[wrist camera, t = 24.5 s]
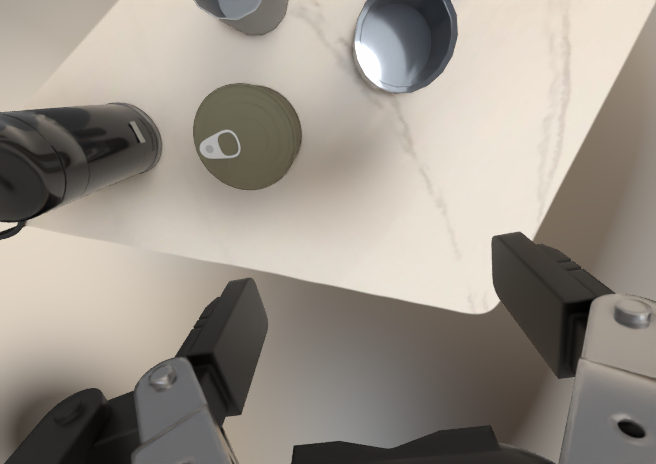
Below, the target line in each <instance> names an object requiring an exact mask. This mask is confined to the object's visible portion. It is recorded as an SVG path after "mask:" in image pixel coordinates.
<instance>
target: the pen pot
mask: <svg viewBox="0 0 656 464" xmlns="http://www.w3.org/2000/svg"><path fill="white" fill-rule="evenodd" d="M457 35H458V31H457V15H456V12H455V10H454V7H453V5H452V3H451V0H367V1H366V3H365V5H364V7H363V9H362V11H361V13H360V15H359V17H358V20H357V23H356V28H355V33H354V40H353V47H352V51H353V58H354V63H355V66H356V68H357V70H358V72H359V74H360V75H361V77H362V79H364V80H365V81H366V82H367V83H368V84H369V85H370V86H372V87H373V88H375V89H378V90H381V91H384V92H390V93H411V92H414V91H416V90H419V89H421V88H423V87H426V86H428V85H429V84H430V83H431V82H432V81H434V80H435V79H436V78H437V77H438V76H439V75H440V74H441V73H442V72H443V71H444V69H445V67H446V66H447V64H448V62H449V61H450V59H451V57H452V55H453V52H454V48H455V44H456V40H457Z"/></svg>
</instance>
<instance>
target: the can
mask: <svg viewBox="0 0 656 464" xmlns="http://www.w3.org/2000/svg"><path fill="white" fill-rule="evenodd" d="M193 136H194V143H195V147H196V150H197V153H198V155H199V157H200V159H201V161H202V162H203V164H204V165H205V167H206V168H207V169H208V170H209V171H210V172H211V174H213V175H214V176H215V177H216V178H217V179H219V180H220V181H222V182H223V183H225V184H227V185H229V186H232V187H234V188H238V189H243V190H258V189H262V188H266V187H268V186H271V185H272V184H274V183H276V182H277V181H279V180H280V179H281V178H282V177H283V176H284V175H285V174H286V172H287V171H288V170H289V168H290V166H291V164H292V162H293V160H294V158H295V156H296V154H297V152H298V150H299V147H300V143H301V126H300V121H299V118H298V116H297V113H296V112H295V110H294V108H293V107H292V105H291V104H290V103H289V101H288V100H287V99H286V98H285V97H283V96H282V95H281V94H279V93H278V92H276V91H274V90H272V89H270V88H267V87H263V86H254V85H250V84H243V83H236V84H229V85H225V86H222V87H220V88H218V89H216V90H214V91H213V92H212V93H210V94H209V95H208V96H207V97H206V98H205V99H204V100H203V102H202V103H201V105H200V106H199V108H198V110H197V113H196V116H195V120H194V126H193Z"/></svg>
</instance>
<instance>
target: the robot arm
mask: <svg viewBox="0 0 656 464" xmlns="http://www.w3.org/2000/svg"><path fill="white" fill-rule="evenodd" d="M160 155H161V138H160V135H159V132H158V130H157V128H156V126H155V124H154V123H153V121H152V120H151V119H150V118H149V117H148V116H147V115H146V114H145V113H144V112H143V111H141V110H140V109H138V108H136V107H135V106H132V105H129V104H126V103H109V104H105V105H89V106H76V107H62V108H49V109H36V110H23V111H12V112H0V222H8V223H10V222H18V224H17V226H15V227H12V228H9V229H7V230H4V231H1V232H0V240H1V239H6V238H9V237H11V236H14V235H15V234H17V233H18V232H19V231H20V230H21V229H22V228H23V227H25V226H26V225H24V222H25V221H26V220H29V219H32V218H35V217H38V216H40V215H42V214H45V213H47V212H49V211H51V210H54V209H56V208H58V207H61V206H63V205H66V204H68V203H70V202H73V201H75V200H77V199H79V198H82V197H84V196H86V195H89V194H91V193H94V192H96V191H98V190H101V189H103V188H105V187H108V186H110V185H112V184H115V183H117V182H120V181H122V180H124V179H127V178H129V177H132V176H134V175H136V174H140V173H143V172H145V171H148V170H149V169H151V168H152V167H153V166H155V164H156V163H157V162H158V160H159V158H160ZM492 278H493V285H494V288H495V291H496V293H497V296H498V297H499V299H500V300H501V301H502V303H503V304H504V305H505V307H506V308H507V310H508V311H509V312H510V314H511V315H512V316H513V318H514V319H515V320H516V322H517V323H518V325H519V326H520V327H521V329H522V330H523V331H524V333H525V334H526V335H527V337H528V338H529V339H530V341H531V342H532V344H533V345H534V346H535V348H536V349H537V351H538V352H539V353H540V354H541V356H542V357H543V359H544V360H545V361H546V363H547V364H548V365H549V367H550V368H551V369H552V371H553V372H554V373H555V375H556V376H557V377H558V379H561V378H569V377H575V381H574V386H573V391H572V396H571V402H570V407H569V412H568V417H567V423H566V427H565V433H564V438H563V443H562V448H561V453H560V458H559V464H656V302H655V301H653V300H650V299H647V298H643V297H639V296H635V295H628V294H616V293H614V292H613V291H612V290H610V289H609V288H608V287H607V286H605V285H604V284H603V283H601V282H600V281H598V280H597V279H596V278H595V277H593V276H592V275H591V274H589V273H588V272H587V271H586V270H584V269H581V267H580V266H579V265H578V264H576V263H575V262H574V261H571V259H570V258H568V257H567V256H566V255H564V254H563V253H562V252H560V251H559V250H557V249H554V248H551V247H549V246H546V245H544V244H537V245H536V244H534V243H533V242H532V241H531V240H530V239H529V238H527V237H526V236H525V235H524V234H522V233H521V232H514V233H508V234H502V235H497V236H493V238H492ZM267 330H268V319H267V315H266V311H265V308H264V306H263V303H262V300H261V297H260V294H259V292H258V289H257V286H256V283H255V281H254V280H253V279H252V278H245V279H239V280H233V281H230V282H229V283H228V284H227V286H226V288H225V289H224V291H223V293H222V295H221V296H220V297H217V298H216V299H215V300H214V301H212V302H211V303H210V304H209V305H208V306H207V307H206V308H205V310H204V311H203V313H202V314H201V316H200V317H199V320H198V321H197V322H196V324H195V326H194V329H192V330H191V332H190V334H189V335H188V337H187V338H186V340H185V342H184V343H183V345H182V346H181V348H180V350H179V351H178V353H177V354H176V356H175V357H174V358H171V359H168V360H165V361H163V362H161V363H159V364H157V365H156V366H154V367H153V368H151V369H150V370H149V371H147V372H146V373H145V374H144V375H143V376H142V377H141V378H140V380H139V381H138V383H137V385H136V386H135V389H134V391H132V392H129V393H126V394H124V395H121V396H119V397H116V398H113V399H111V400H108V401H107V399H106V398H105V396H104V395H103V393H102V392H101V391H100V390H99V389H96V388H91V389H86V390H82V391H80V392H77V393H75V394H73V395H71V396H69V397H68V398H66V399H65V400H63V401H62V402H60V403H59V404H57V405H56V406H55V407H54V408H53V409H52V410H51V411H49V412H48V413H47V415H46V416H45V417H44V418H43V419H42V420H41V421H40V422H39V424H38V425H37V426H36V427H35V428H34V429H33V431H32V432H31V433H30V434H29V435H28V437H27V438H26V439H25V440H24V441H23V442H22V443H21V445H20V446H19V447H18V448H17V449H16V450H15V452H14V453H13V454H12V455H11V456H10V457H9V459H8V460H7V461H6V462H5V463H4V464H239V463H238V460H237V458H236V456H235V453H234V451H233V449H232V446H231V444H230V442H229V440H228V437H227V435H226V433H225V431H224V429H223V427H222V425H223V423H224V420H225V417H228V416H236V415H241V414H242V410H243V407H244V404H245V401H246V398H247V394H248V391H249V388H250V385H251V382H252V378H253V375H254V372H255V368H256V366H257V362H258V359H259V356H260V353H261V350H262V347H263V343H264V340H265V337H266V334H267ZM291 464H555V463H554V462H552V461H550V460H548V459H546V458H544V457H542V456H540V455H537V454H535V453H533V452H530V451H527V450H525V449H522V448H519V447H515V446H511V445H507V444H501V443H498V441H497V439H496V437H495V434H494V432H493V430H492V427H491V426H490V425H489V426H479V427H469V428H460V429H450V430H441V431H437V432H435V433H432V434H429V435H427V436H424V437H421V438H419V439H416V440H413V441H411V442H408V443H406V444H403V445H400V446H398V447H395V448H390V449H386V448H379V447H373V446H367V445H361V444H355V443H349V442H343V441H335V442H325V443H315V444H305V445H296V446H294V448H293V455H292V463H291Z"/></svg>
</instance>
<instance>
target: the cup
mask: <svg viewBox="0 0 656 464" xmlns="http://www.w3.org/2000/svg"><path fill="white" fill-rule="evenodd" d="M194 2H195V3H196V5H197V6H198V7H199V8H200V9H202V10H204V11H205V12H207V13H209V14H210V15H212V16H214V17H215V18H217V19H219V20H221V21H223V22H224V23H226V24H228V25H230V26H232V27H234V28H236V29H238V30H239V31H241V32H243V33H245V34H251V35H263V34H265V33H267V32H269V31H271V30H273V29H275V28H276V27H277V26H278V24H279V23H280V21H281V20H282V19H283V17H284V16H285V14H286V10H287V5H288V0H194Z"/></svg>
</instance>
